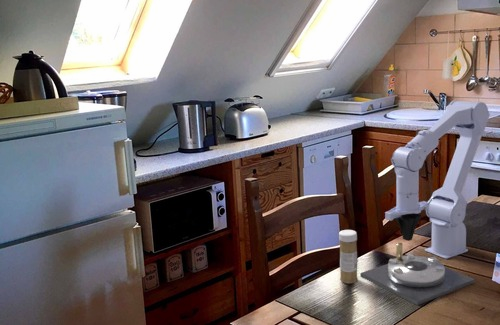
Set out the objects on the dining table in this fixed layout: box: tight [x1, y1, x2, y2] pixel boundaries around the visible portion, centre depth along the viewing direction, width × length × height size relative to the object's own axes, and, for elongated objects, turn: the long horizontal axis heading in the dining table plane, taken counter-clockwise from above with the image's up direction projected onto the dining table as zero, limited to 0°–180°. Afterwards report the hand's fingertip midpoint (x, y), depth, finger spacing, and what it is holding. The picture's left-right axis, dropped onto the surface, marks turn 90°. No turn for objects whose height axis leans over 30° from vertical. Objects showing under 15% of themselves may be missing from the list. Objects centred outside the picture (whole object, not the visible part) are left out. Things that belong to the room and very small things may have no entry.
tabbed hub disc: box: [387, 242, 445, 287], centre depth 140 cm, size 14×14×7 cm
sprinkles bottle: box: [338, 229, 358, 284], centre depth 141 cm, size 5×5×14 cm
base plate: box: [359, 254, 475, 306], centre depth 141 cm, size 20×20×1 cm
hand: (407, 239), depth 148 cm, fingers closed
